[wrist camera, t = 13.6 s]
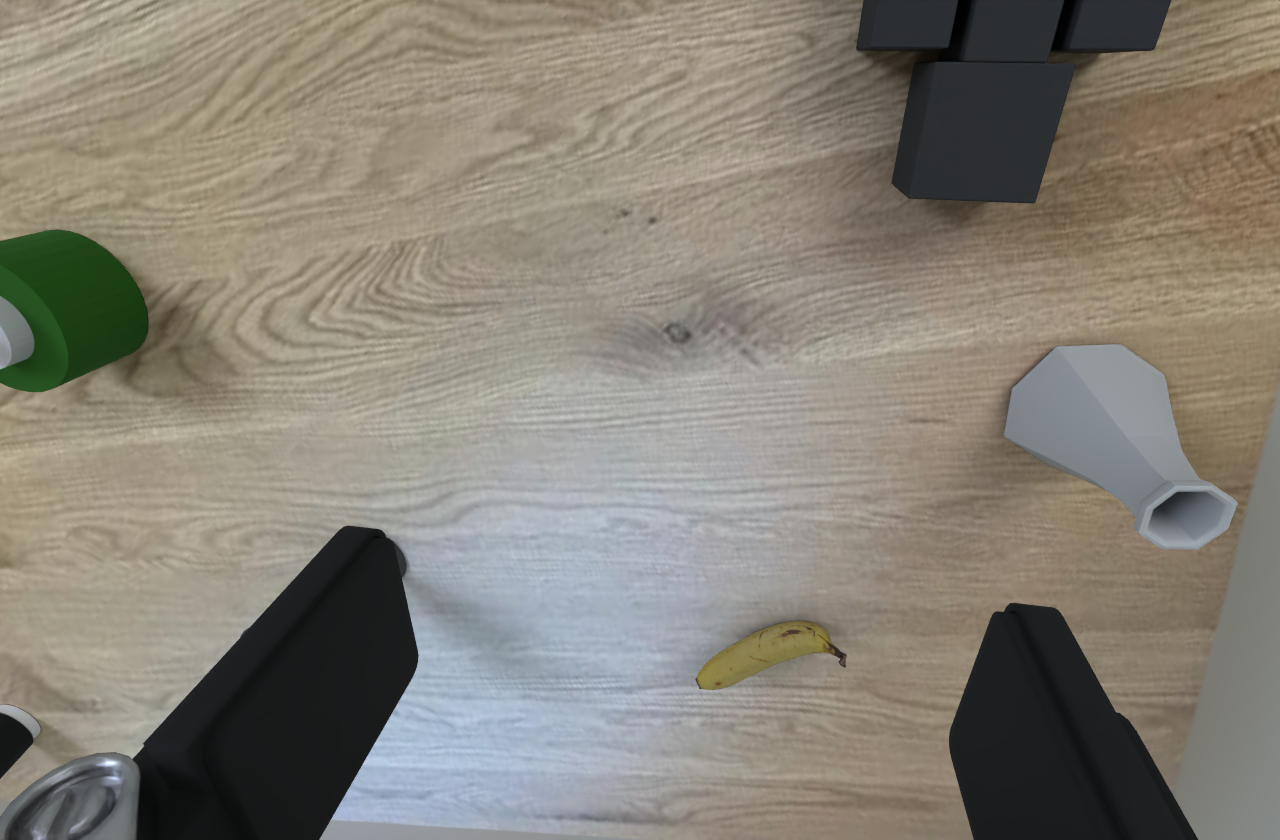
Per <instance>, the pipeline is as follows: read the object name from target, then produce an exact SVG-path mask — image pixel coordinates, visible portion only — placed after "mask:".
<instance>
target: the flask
mask: <svg viewBox="0 0 1280 840" xmlns="http://www.w3.org/2000/svg"><path fill="white" fill-rule="evenodd" d="M1004 437H1006V438H1007V439H1009V440H1010V441H1012V442H1013V443H1015V444H1016V445H1018V446H1019V447H1021V448H1023V449H1024V450H1026V451H1027V452H1029V453H1030V454H1032V455H1033V456H1035V457H1036V458H1038V459H1039V460H1041V461H1042V462H1044V463H1046V464H1048V465H1050V466H1052V467H1054V468H1057V469H1059V470H1061V471H1064V472H1066V473H1069V474H1071V475H1074V476H1076V477H1078V478H1081V479H1083V480H1085V481H1087V482H1089V483H1091V484H1093V485H1096V486H1098V487H1100V488H1102V489H1104V490H1106V491H1108V492H1110V493H1111V494H1113V495H1114V496H1115V497H1117V498H1118V499H1119V500H1121V501H1122V502H1123V503H1124V504H1125V506H1126V507H1127V508H1128V509H1129V510H1130V511H1131V512H1132V514H1133V515H1134V516H1135V518H1136V521H1135V524H1134V528H1135V530H1136V531H1137V532H1138V533H1139V534H1140V535H1142V536H1143V537H1145V538H1146V539H1148V540H1149V541H1151V542H1152V543H1154V544H1155V545H1157V546H1158V547H1160V548H1162V549H1199V548H1201V547H1202V546H1204V545H1205V544H1207V543H1208V542H1210V541H1211V540H1213V539H1214V538H1216V537H1217V536H1219V535H1220V534H1222V533H1223V532H1225V531H1226V530H1228V527H1229V525H1230V522H1231V520H1232V517H1233V514H1234V512H1235V509H1236V507H1237V504H1238V502H1237V501H1236V500H1235V499H1233V498H1232V497H1230V496H1229V495H1228V494H1226V493H1225V492H1223V491H1222V490H1220V489H1219V488H1217V487H1216V486H1214V485H1213V484H1211V483H1210V482H1208V481H1206V480H1201V479H1200V478H1199V477H1198V476H1197V474H1196V473H1195V471H1194V469H1193V468H1192V466H1191V465H1190V463H1189V461H1188V460H1187V458H1186V456H1185V455H1184V453H1183V451H1182V448H1181V444H1180V441H1179V437H1178V433H1177V430H1176V426H1175V422H1174V419H1173V415H1172V409H1171V404H1170V399H1169V393H1168V388H1167V383H1166V379H1165V376H1164V374H1163V373H1161V372H1160V371H1159V370H1157V369H1156V368H1154V367H1153V366H1151V365H1150V364H1148V363H1147V362H1146V361H1144V360H1143V359H1141V358H1140V357H1138V356H1137V355H1136V354H1134V353H1133V352H1131V351H1130V350H1128V349H1127V348H1126V347H1124V346H1123V345H1121V344H1110V345H1083V346H1057V347H1056V348H1054V349H1053V350H1052V351H1051V352H1050V353H1049V354H1048V355H1047V356H1046V357H1045V358H1044V359H1043V360H1042V361H1041V362H1040V363H1039V364H1038V365H1037V366H1035V367H1034V368H1033V369H1032V370H1031V371H1030V372H1029V373H1028V374H1027V375H1026V376H1025V377H1024V378H1023V379H1022V380H1021V381H1020V382H1019V383H1018V384H1016V385H1015V386H1014V387H1013V388H1012V392H1011V398H1010V404H1009V409H1008V415H1007V421H1006V427H1005V432H1004Z"/></svg>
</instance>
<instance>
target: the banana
mask: <svg viewBox="0 0 1280 840" xmlns="http://www.w3.org/2000/svg"><path fill="white" fill-rule="evenodd" d="M820 652H825V653H830V654H832V655H834V656H836V657H838V658H840V661H839V663H840V665H841V666H843V667H846V665H845V663H846V657H847V655H846V654H844V653H842V652H841V651H840V650H839V649H838V648H836V647H835V646H834V645H833V644H832V643H831V640H830V637H829V634H828V633H827V631H826V630H825V629H824V628H822V627H821V626H819V625H817V624H815V623H811V622H807V621H791V622H784V623H780V624H776V625H773V626H770V627H767V628H765V629H762V630H760V631H757V632H755V633H753V634H751V635H749V636H747V637H745V638H743V639H742V640H740V641H738V642H736V643H735V644H733V645H731V646H730V647H728V648H726V649H724V650H723V651H721V652H720V653H718V654H716V655H715V656H713V657H712V658H711V659H710V660H709V661H708V662H707V663H706V664H705V665H704V666H703V668H702V669H701V670H700V672H699V674H698V675H697V678H696V682H697V684H698V686H699V688H700V689H706V690H716V689H722V688H725V687H728V686H731V685H734V684H736V683H738V682H740V681H742V680H744V679H745V678H748V677H750V676H752V675H754V674H756V673H758V672H760V671H762V670H764V669H766V668H768V667H771V666H773V665H775V664H778V663H781V662H783V661H786V660H789V659H793V658H796V657H799V656H802V655H807V654H810V653H820Z"/></svg>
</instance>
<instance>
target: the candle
mask: <svg viewBox="0 0 1280 840" xmlns="http://www.w3.org/2000/svg"><path fill="white" fill-rule="evenodd" d="M147 331H148V315H147V309H146V306H145V303H144V299H143V297H142V295H141V293H140V291H139V289H138V286H137V285H136V283H135V282H134V280H133V279H132V277H131V276H130V274H129V273H128V272H127V270H126V269H125V268H124V267H123V266H122V264H121V263H120V262H119V261H118V260H117V259H116V258H115V257H114V256H112V255H111V254H110V253H109V252H108V251H107V250H105V249H104V248H103V247H101V246H100V245H98V244H97V243H96V242H94V241H92V240H90V239H88V238H86V237H84V236H82V235H79V234H76V233H73V232H70V231H64V230H49V231H44V232H39V233H35V234H30V235H26V236H21V237H17V238H12V239H8V240H3V241H0V383H2V384H4V385H6V386H9V387H12V388H14V389H17V390H21V391H27V392H44V391H47V390H50V389H53V388H55V387H58V386H60V385H62V384H64V383H67V382H69V381H71V380H73V379H75V378H78V377H80V376H82V375H84V374H87V373H89V372H91V371H93V370H95V369H98V368H100V367H102V366H104V365H107V364H109V363H111V362H113V361H115V360H118V359H120V358H122V357H124V356H127V355H129V354H131V353H133V352H134V351H136V350H137V349H139V347H140V346H141V345H142V343H143V342H144V340H145V338H146V335H147Z"/></svg>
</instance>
